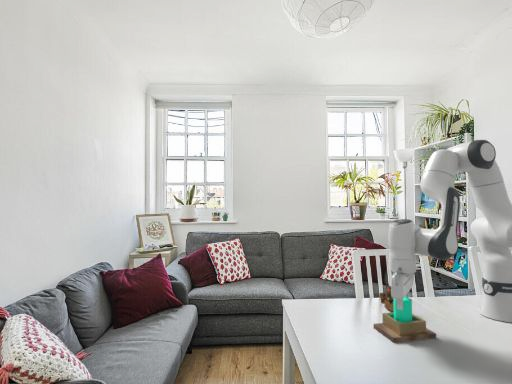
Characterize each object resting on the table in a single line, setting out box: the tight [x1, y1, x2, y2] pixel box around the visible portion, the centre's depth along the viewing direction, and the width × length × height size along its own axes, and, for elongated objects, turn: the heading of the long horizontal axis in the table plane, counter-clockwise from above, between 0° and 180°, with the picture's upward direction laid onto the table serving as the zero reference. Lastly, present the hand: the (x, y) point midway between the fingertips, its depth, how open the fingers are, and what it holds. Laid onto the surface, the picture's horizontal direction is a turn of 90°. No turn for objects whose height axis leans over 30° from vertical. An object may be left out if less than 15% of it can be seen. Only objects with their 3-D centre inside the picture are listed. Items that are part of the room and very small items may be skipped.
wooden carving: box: [379, 285, 394, 312], centre depth 135 cm, size 16×5×10 cm, turn 11°
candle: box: [393, 297, 413, 322], centre depth 113 cm, size 6×6×12 cm
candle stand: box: [373, 311, 437, 344], centre depth 112 cm, size 16×12×6 cm
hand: (403, 305), depth 113 cm, fingers open, 8 cm apart
